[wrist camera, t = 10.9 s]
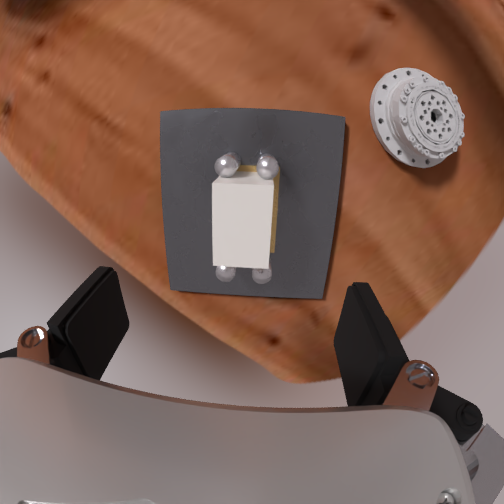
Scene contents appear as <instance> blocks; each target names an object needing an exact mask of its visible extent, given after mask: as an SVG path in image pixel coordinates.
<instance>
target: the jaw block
mask: <svg viewBox="0 0 504 504" xmlns="http://www.w3.org/2000/svg"><path fill="white" fill-rule="evenodd" d="M273 193H274V183H273V178H272V179H264V178H262V177H260V176H259V175H258V173H257V172H246V171H236V172H235V173H234V174H233V175H232V176H231V177H227V178H224V177H221V176H219V177H218V178H217V179H216V180H215V181H214V182H213V183H212V243H213V266H226V267H244V268H261V269H268V267H269V254H270V239H271V224H272V209H273Z"/></svg>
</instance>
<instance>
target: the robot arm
mask: <svg viewBox="0 0 504 504" xmlns="http://www.w3.org/2000/svg"><path fill="white" fill-rule="evenodd" d="M47 325H48V327H49V330H48V331H46V329H45V328H43V327H41V326H35V327H31V328H28V329H27V330H25V331H24V332H23V333H22V334H21V335H20V337H19V339H18V344H17V347H16V348H13V349H10V350H8V351H5V352H2V353H0V504H492V503H493V502H494V500H495V499H496V497H497V496H498V494H499V493H500V491H501V489H502V488H503V486H504V439H503V438H502V437H501V436H500V435H499V434H498V433H497V432H496V431H494V429H492V428H491V427H490V426H489V425H488V424H486V425H485V426H484V425H483V424H482V423H483V418H482V414H481V411H480V410H479V408H478V407H477V406H476V405H474V404H473V403H471V402H469V401H467V400H465V399H463V398H461V397H459V396H457V395H455V394H454V393H452V392H450V391H448V390H446V389H444V388H442V387H440V386H438V383H439V377H438V373H437V372H436V370H435V369H434V368H433V367H432V366H431V365H430V364H428V363H427V362H424V361H421V360H412V361H409V359H408V357H407V355H406V353H405V351H404V349H403V346H402V345H401V342H400V340H399V338H398V336H397V334H396V332H395V330H394V328H393V326H392V324H391V322H390V320H389V318H388V317H387V316H386V315H385V313H384V311H383V309H382V307H381V305H380V304H379V302H378V300H377V298H376V296H375V294H374V292H373V291H372V289H371V287H370V285H369V284H368V283H362V282H354V283H353V284H352V286H348V288H347V292H346V296H345V300H344V304H343V308H342V312H341V315H340V319H339V323H338V326H337V330H336V333H335V337H334V347H335V351H336V355H337V360H338V364H339V368H340V373H341V377H342V381H343V386H344V391H345V395H346V399H347V404H348V407H328V408H269V407H248V406H236V405H225V404H216V403H207V402H200V401H192V400H186V399H180V398H174V397H168V396H162V395H157V394H152V393H148V392H143V391H139V390H134V389H130V388H126V387H122V386H118V385H114V384H110V383H107V382H103V381H100V379H101V377H102V375H103V373H104V371H105V369H106V368H107V366H108V364H109V362H110V360H111V359H112V357H113V355H114V353H115V351H116V350H117V348H118V346H119V344H120V343H121V341H122V339H123V337H124V336H125V334H126V332H127V330H128V328H129V319H128V316H127V312H126V309H125V305H124V301H123V297H122V293H121V289H120V284H119V280H118V275H117V273H116V271H114V269H113V268H111V267H103V266H100V267H99V268H97V269H96V270H95V271H94V272H93V273H92V274H91V275H90V276H89V277H88V278H87V279H86V280H85V281H84V283H82V284H81V285H80V287H79V288H78V289H77V290H76V291H75V292H74V293H73V294H72V295H71V296H70V297H69V298H68V300H67V301H66V302H65V303H64V304H63V305H62V306H61V307H60V308H59V309H58V311H57V312H56V313H55V314H54V315H53V316H52V317H51V318H50V320H49V321H48V322H47Z"/></svg>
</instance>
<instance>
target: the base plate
mask: <svg viewBox="0 0 504 504" xmlns="http://www.w3.org/2000/svg"><path fill="white" fill-rule="evenodd" d="M344 131H345V117H342V116H335V115H328V114H320V113H311V112H302V111H290V110H276V109H255V108H206V109H185V110H171V111H161V113H160V159H161V189H162V207H163V222H164V234H165V245H166V255H167V265H168V273H169V282H170V289H171V290H177V291H189V292H201V293H215V294H229V295H246V296H264V297H286V298H315V299H322V297H323V292H324V287H325V281H326V276H327V270H328V264H329V259H330V253H331V246H332V240H333V233H334V227H335V219H336V212H337V204H338V196H339V187H340V178H341V168H342V157H343V145H344ZM236 171H246V172H257V173H258V175H259V176H260V177H262V178H264V179H272V178H273V183H274V193H273V209H272V224H271V239H270V254H269V267H268V269H261V268H244V267H226V266H213V243H212V183H213V182H214V181H215V180H216V179H217V178H218V177H219V176H221V177H224V178H227V177H231V176H232V175H233V174H234V173H235V172H236Z"/></svg>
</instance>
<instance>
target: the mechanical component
mask: <svg viewBox="0 0 504 504" xmlns="http://www.w3.org/2000/svg"><path fill="white" fill-rule="evenodd" d="M382 87H383V88H382ZM457 99H458V97H457V96H456V95H454V94H453V92H452V89H451V88H450V87H447V86H446V85H445V84H444V82H443V81H439V80H437V79H435V78H433V77H432V76H431V75H429V74H428V73H426V72H423V71H421V70H418V69H414V68H399V69H396V70H394V71H392V72H389V73H387V74H385V75H384V76H383V77H382V78H381V79H380V80H379V82H378V83H377V84H376V86H375V88H374V90H373V92H372V96H371V100H370V117H371V121H372V125H373V129H374V132H375V134H376V136H377V138H378V140H379V141H380V143H381V144H382V146H383V147H384V149H385V150H386V151H387V152H388V153H389V154H391V155H392V156H393V157H394V158H395V159H396V160H398V161H400V162H402V163H404V164H407V165H410V166H414V167H419V168H428V167H432V166H435V165H437V164H439V163H441V162H442V161H443V160H444V159H445V158H446V157H447V156H449V155H450V154H452V153H453V152H456V151H457V147H458V146H459V145H461V144H462V141H461V139H462V137H464V132H463V127H464V123H463V119H464V117H465V115H464V114H463V113H462V111H461V107H460V105H459V103H458V101H457ZM378 120H379V121H378ZM379 122H380V123H379Z"/></svg>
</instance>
